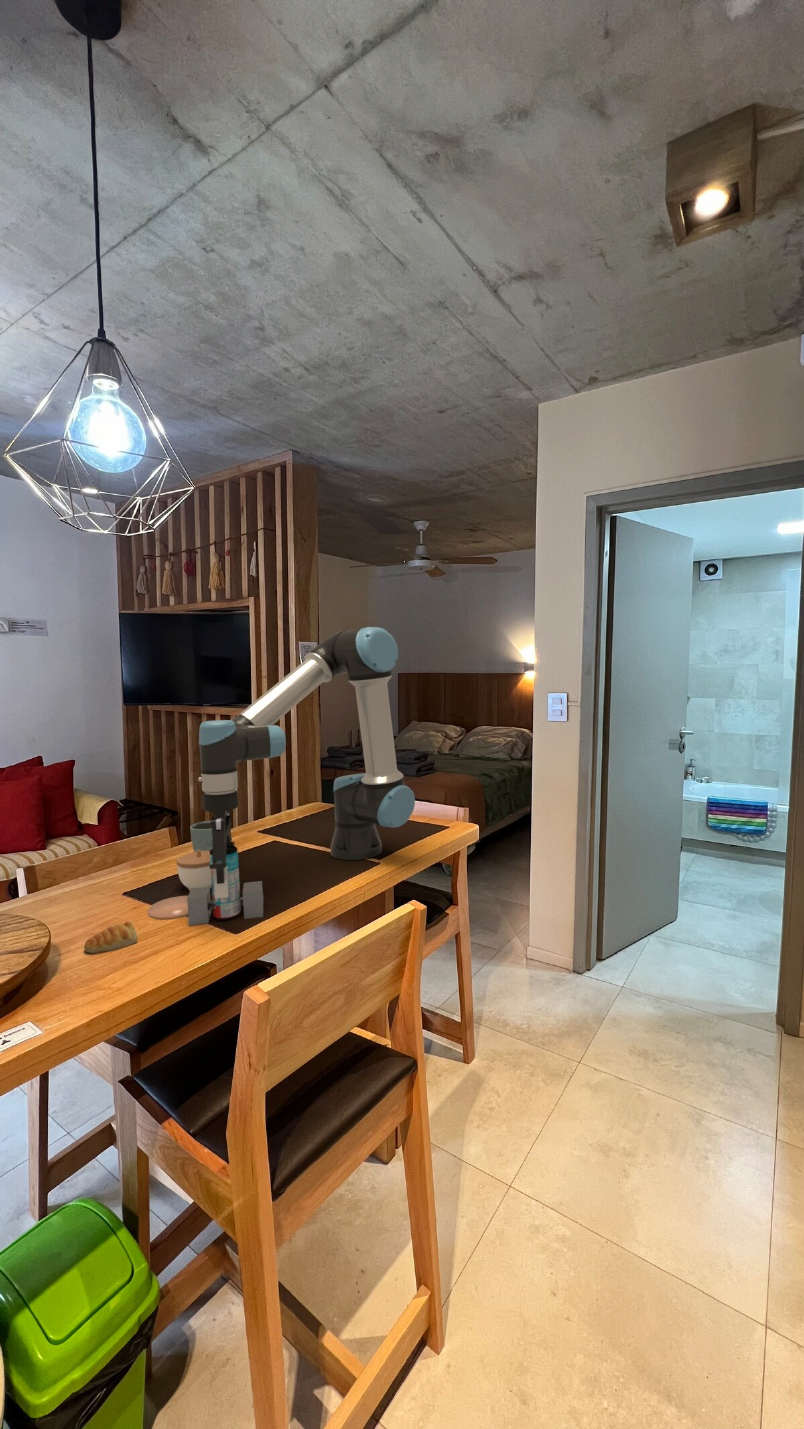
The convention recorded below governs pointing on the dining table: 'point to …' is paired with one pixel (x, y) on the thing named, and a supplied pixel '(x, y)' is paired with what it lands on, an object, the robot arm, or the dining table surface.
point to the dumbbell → (202, 905)
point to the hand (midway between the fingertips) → (224, 886)
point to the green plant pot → (202, 836)
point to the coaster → (169, 908)
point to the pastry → (112, 938)
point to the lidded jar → (195, 869)
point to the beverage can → (231, 904)
